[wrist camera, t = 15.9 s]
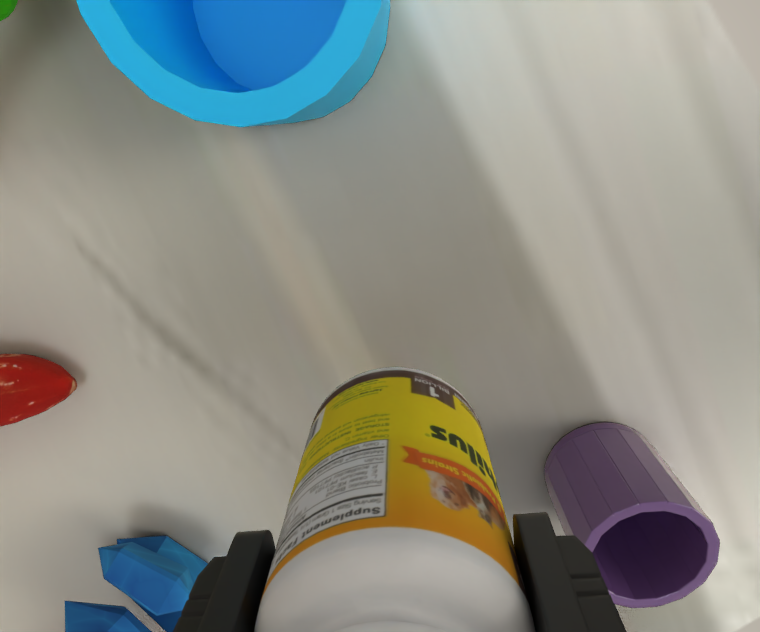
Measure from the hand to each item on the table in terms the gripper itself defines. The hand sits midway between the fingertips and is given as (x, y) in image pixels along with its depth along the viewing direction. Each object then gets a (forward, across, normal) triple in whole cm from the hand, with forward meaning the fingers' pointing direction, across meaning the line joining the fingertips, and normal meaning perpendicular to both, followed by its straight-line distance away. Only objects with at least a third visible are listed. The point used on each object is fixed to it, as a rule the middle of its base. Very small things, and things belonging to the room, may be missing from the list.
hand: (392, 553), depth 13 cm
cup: (+14, -10, +9) cm, 19 cm away
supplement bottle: (+6, 0, 0) cm, 6 cm away
